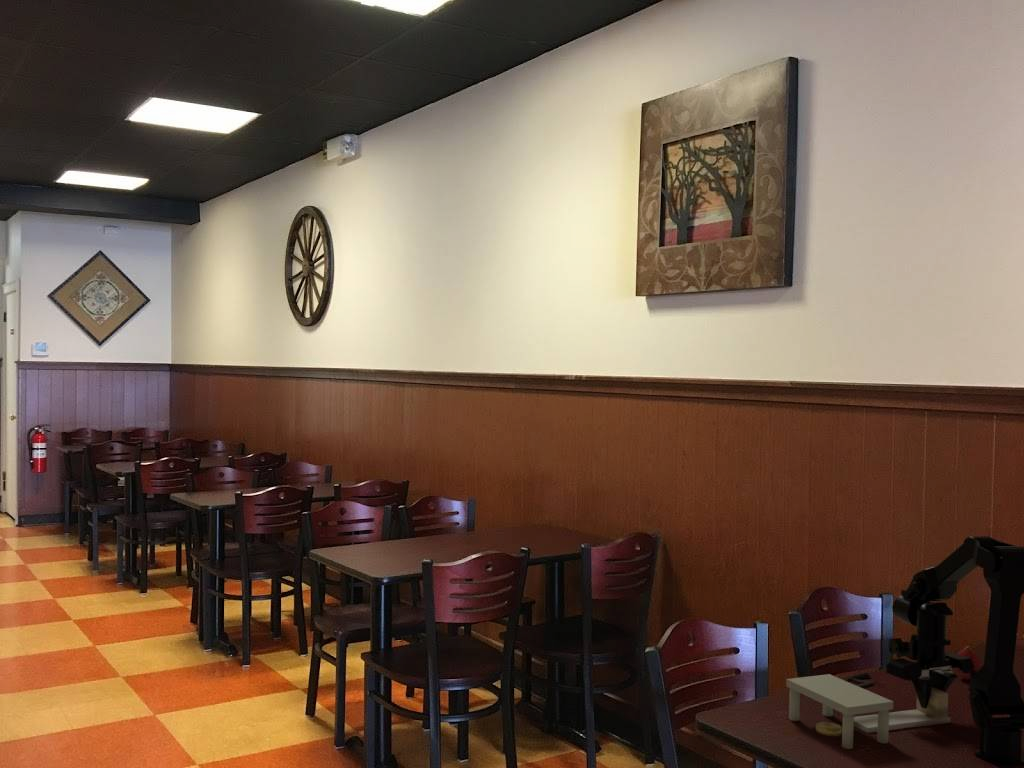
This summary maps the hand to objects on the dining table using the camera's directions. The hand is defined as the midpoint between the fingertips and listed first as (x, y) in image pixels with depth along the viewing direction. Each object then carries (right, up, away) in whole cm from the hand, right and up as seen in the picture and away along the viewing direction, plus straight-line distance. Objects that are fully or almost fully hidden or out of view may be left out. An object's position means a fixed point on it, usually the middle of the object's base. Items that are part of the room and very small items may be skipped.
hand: (929, 707), depth 202 cm
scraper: (-8, -2, -4) cm, 9 cm away
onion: (+20, -3, +27) cm, 34 cm away
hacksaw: (-10, -2, +17) cm, 20 cm away
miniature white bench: (-22, -2, -9) cm, 24 cm away
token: (-24, -2, -10) cm, 26 cm away
